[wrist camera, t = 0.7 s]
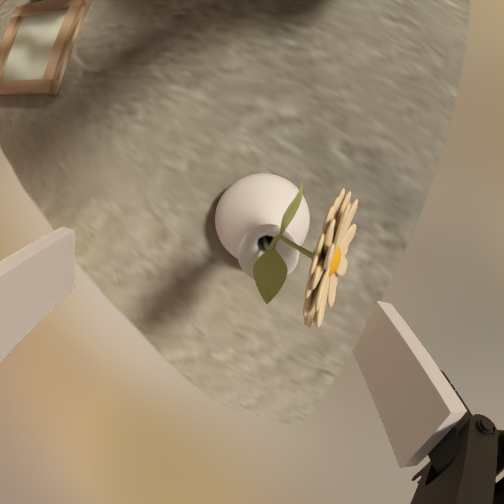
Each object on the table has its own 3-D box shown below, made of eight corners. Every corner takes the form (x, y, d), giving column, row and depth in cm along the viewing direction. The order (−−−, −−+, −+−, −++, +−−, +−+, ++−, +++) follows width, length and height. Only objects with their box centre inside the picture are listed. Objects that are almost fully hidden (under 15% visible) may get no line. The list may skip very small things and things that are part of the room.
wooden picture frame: (24, 11, 25) (16, 7, 22) (92, -1, 26) (85, -7, 24) (-5, 94, 30) (-14, 94, 27) (58, 94, 31) (48, 92, 29)
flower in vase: (276, 275, 40) (305, 428, 16) (200, 233, 38) (132, 358, 15) (331, 191, 37) (449, 262, 13) (252, 143, 35) (257, 124, 11)
